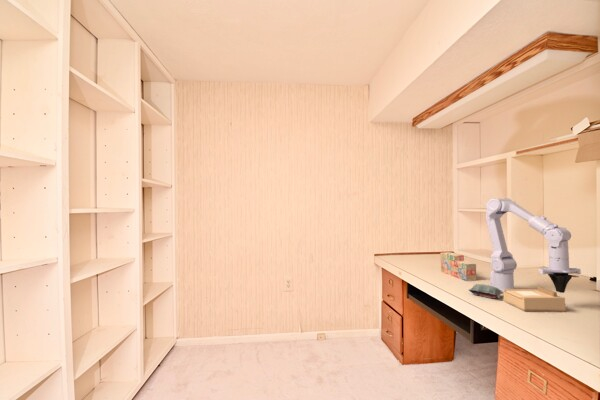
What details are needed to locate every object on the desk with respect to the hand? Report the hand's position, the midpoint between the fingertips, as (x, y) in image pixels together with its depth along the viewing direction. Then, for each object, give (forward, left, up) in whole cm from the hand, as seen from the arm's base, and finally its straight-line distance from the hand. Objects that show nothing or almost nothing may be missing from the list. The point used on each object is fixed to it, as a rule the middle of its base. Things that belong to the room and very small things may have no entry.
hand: (560, 291), depth 106 cm
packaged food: (-13, -20, -6) cm, 25 cm away
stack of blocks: (-48, -15, -6) cm, 50 cm away
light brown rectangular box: (0, -11, -6) cm, 12 cm away
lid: (0, -11, -1) cm, 11 cm away
